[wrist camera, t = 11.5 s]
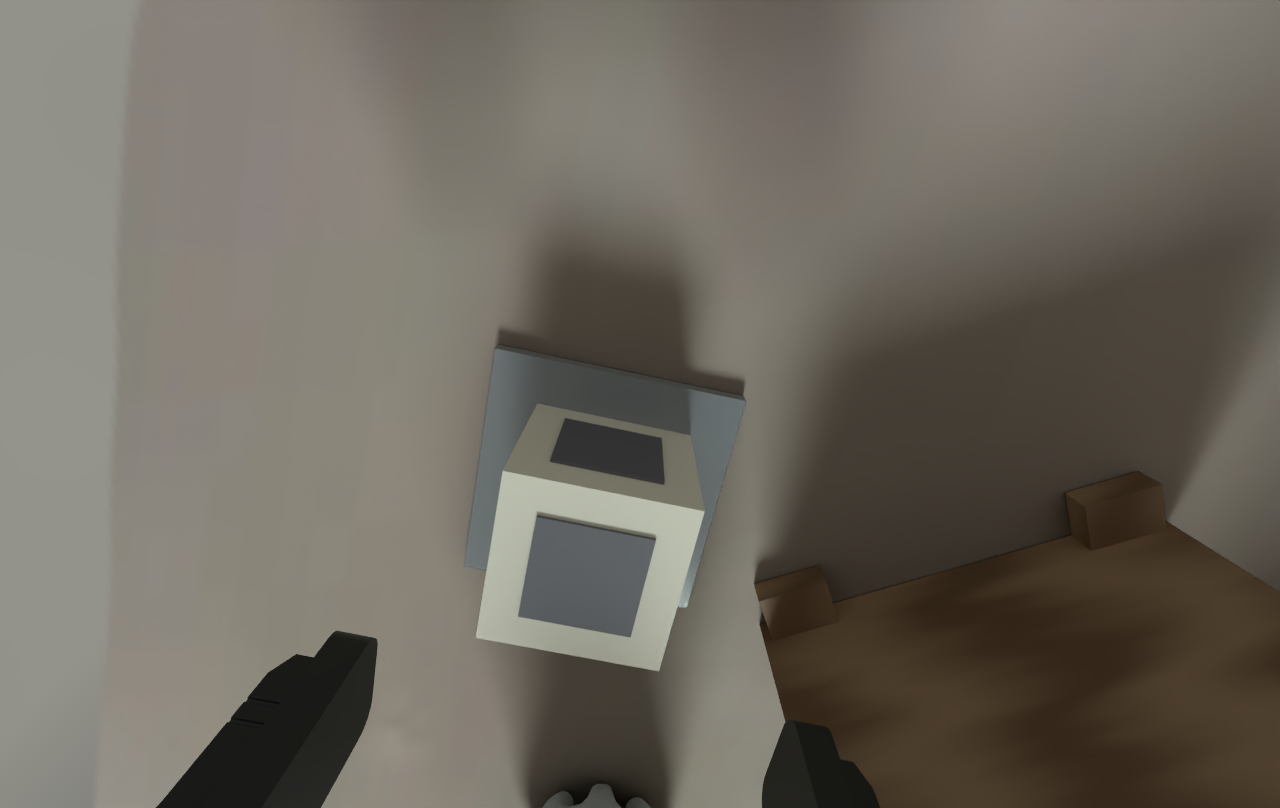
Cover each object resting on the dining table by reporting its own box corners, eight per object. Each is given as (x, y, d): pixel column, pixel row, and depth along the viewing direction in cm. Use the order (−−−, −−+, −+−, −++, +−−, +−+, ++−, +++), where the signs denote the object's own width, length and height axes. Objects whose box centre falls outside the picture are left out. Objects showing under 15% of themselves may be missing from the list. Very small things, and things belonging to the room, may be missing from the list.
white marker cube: (655, 565, 21) (659, 674, 16) (513, 537, 21) (474, 640, 16) (691, 432, 20) (706, 509, 15) (537, 400, 19) (502, 469, 15)
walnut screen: (1147, 468, 21) (1769, 807, 9) (1159, 587, 22) (1705, 1005, 11) (746, 586, 22) (852, 998, 11) (782, 689, 24) (910, 1147, 12)
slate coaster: (743, 396, 20) (746, 400, 19) (685, 599, 22) (686, 608, 22) (498, 344, 19) (495, 348, 19) (467, 558, 22) (464, 566, 21)
